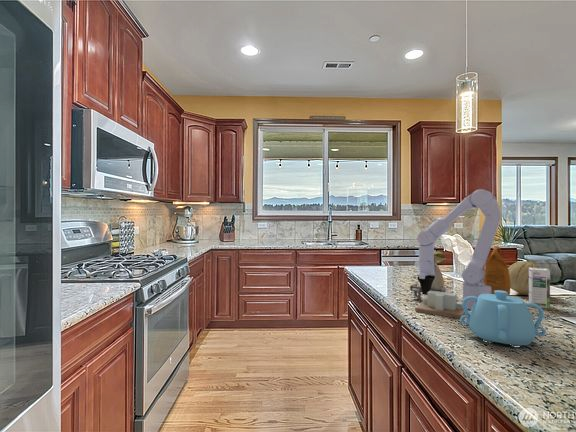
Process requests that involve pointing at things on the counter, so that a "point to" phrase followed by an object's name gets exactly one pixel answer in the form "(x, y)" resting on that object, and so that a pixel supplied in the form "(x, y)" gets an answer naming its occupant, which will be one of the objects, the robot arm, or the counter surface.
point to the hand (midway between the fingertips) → (426, 293)
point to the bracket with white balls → (418, 289)
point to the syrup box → (539, 287)
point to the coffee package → (497, 273)
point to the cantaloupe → (521, 276)
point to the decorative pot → (502, 319)
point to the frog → (438, 272)
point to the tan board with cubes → (441, 304)
